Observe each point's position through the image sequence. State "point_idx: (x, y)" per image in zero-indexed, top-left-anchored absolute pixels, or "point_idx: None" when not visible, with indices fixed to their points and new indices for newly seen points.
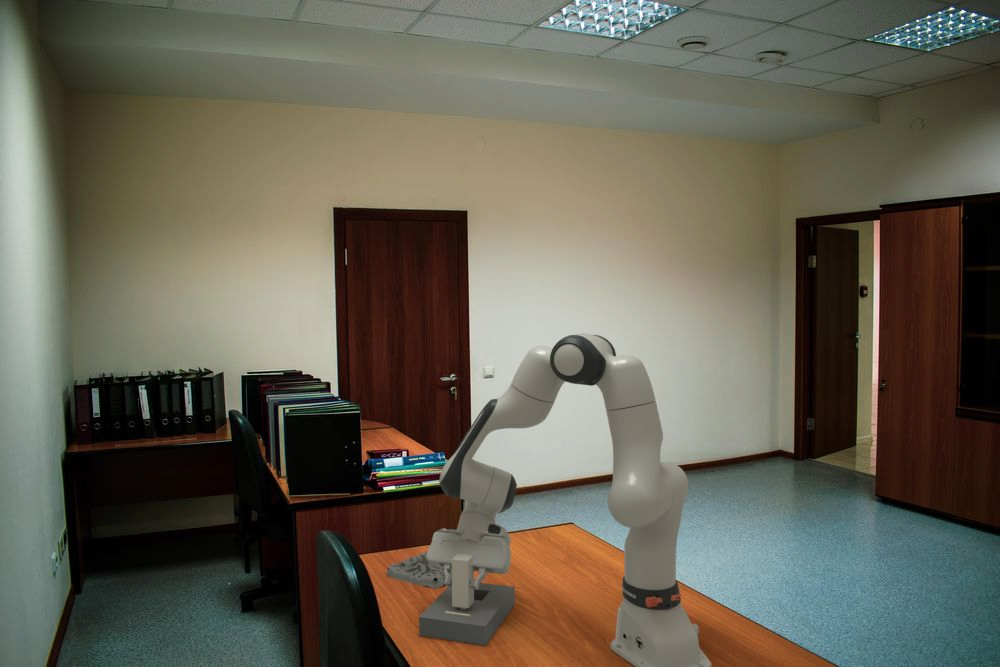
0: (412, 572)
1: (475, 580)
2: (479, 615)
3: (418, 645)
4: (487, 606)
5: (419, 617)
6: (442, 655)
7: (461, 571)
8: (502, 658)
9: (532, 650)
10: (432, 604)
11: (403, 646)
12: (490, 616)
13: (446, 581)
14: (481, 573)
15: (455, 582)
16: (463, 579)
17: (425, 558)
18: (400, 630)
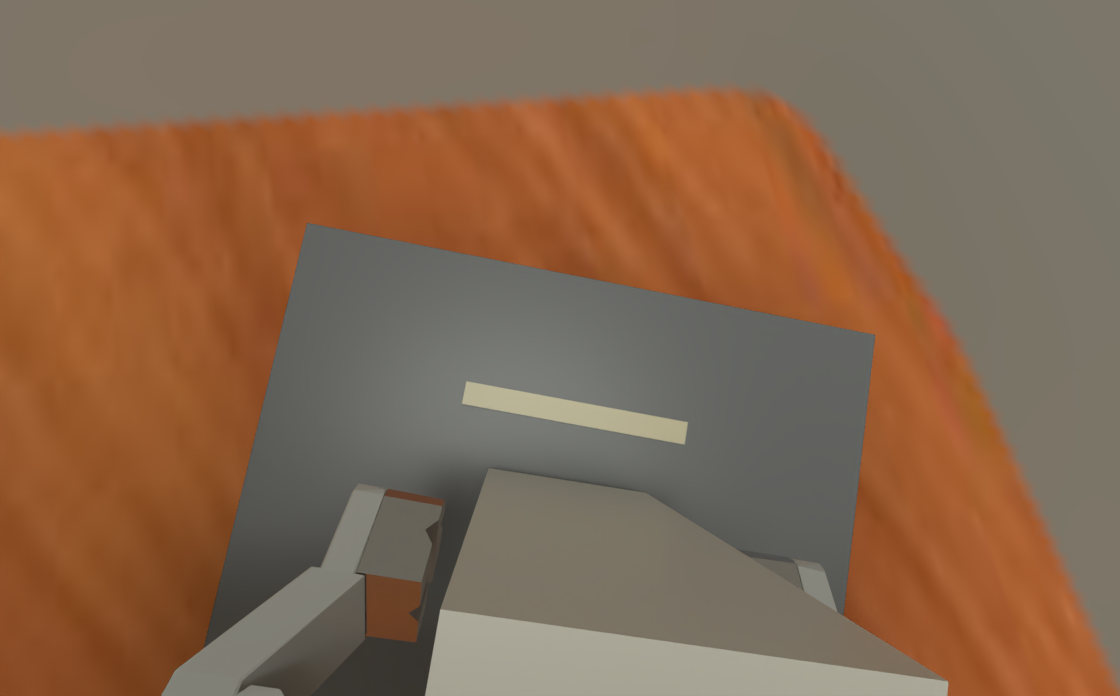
0: None
1: (363, 555)
2: (382, 410)
3: (771, 233)
4: None
5: (867, 333)
6: (598, 129)
7: (601, 558)
8: (221, 120)
9: (21, 232)
10: (833, 582)
11: (855, 214)
12: (280, 401)
13: (802, 570)
14: (229, 660)
15: (668, 530)
16: (551, 523)
17: None
18: (940, 413)
